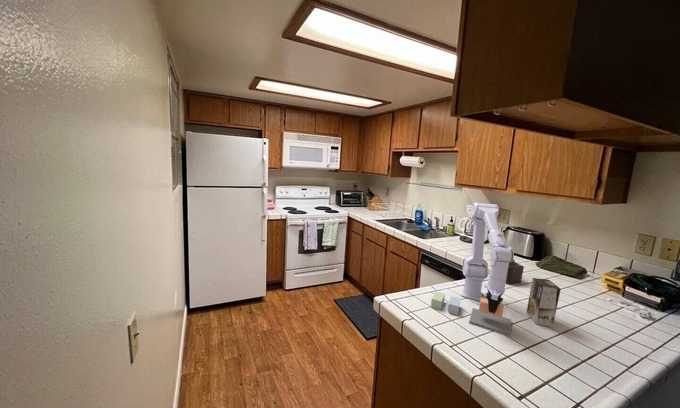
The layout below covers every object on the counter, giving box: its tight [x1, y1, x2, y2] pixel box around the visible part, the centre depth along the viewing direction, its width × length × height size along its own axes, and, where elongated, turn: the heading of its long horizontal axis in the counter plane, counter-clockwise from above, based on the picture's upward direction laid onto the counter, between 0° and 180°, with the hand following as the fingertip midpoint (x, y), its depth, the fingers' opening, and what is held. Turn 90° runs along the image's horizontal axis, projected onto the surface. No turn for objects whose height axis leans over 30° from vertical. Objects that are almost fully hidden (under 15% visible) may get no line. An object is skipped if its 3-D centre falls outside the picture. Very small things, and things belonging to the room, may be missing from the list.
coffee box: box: [526, 277, 562, 328], centre depth 114 cm, size 9×6×16 cm
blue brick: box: [447, 295, 461, 316], centre depth 119 cm, size 8×4×4 cm, turn 153°
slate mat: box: [468, 307, 512, 337], centre depth 111 cm, size 12×14×1 cm
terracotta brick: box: [478, 297, 505, 318], centre depth 110 cm, size 8×4×4 cm, turn 59°
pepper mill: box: [505, 258, 525, 286], centre depth 155 cm, size 16×11×18 cm
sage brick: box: [430, 291, 446, 311], centre depth 122 cm, size 8×4×4 cm, turn 150°
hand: (492, 309), depth 110 cm, fingers closed on terracotta brick, 4 cm apart
